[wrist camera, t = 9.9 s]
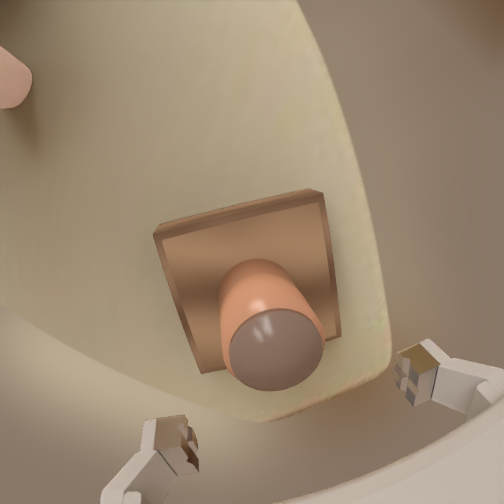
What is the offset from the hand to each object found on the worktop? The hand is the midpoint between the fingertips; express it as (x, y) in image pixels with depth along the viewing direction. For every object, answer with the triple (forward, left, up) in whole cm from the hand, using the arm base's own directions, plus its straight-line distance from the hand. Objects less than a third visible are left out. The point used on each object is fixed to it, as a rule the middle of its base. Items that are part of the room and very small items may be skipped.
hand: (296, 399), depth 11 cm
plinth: (+1, 0, -14) cm, 14 cm away
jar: (+1, 0, -11) cm, 11 cm away
